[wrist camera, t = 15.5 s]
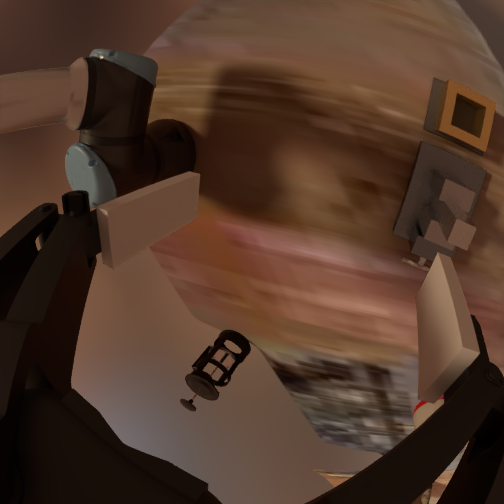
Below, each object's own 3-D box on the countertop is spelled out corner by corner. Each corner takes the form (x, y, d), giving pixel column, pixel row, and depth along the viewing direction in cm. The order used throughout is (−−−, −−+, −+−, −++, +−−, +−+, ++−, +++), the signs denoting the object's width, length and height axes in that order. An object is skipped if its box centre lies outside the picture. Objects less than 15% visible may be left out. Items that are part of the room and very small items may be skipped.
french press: (247, 331, 69) (197, 399, 51) (257, 358, 73) (213, 424, 54) (209, 327, 75) (158, 386, 57) (220, 353, 78) (175, 411, 60)
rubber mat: (423, 128, 35) (423, 128, 35) (433, 78, 31) (434, 77, 30) (481, 155, 32) (482, 155, 32) (492, 105, 28) (493, 105, 27)
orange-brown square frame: (433, 129, 34) (439, 130, 30) (442, 83, 30) (449, 79, 26) (475, 148, 32) (485, 152, 28) (485, 104, 28) (496, 102, 24)
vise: (386, 244, 46) (384, 294, 33) (420, 140, 36) (440, 148, 23) (443, 267, 43) (458, 322, 30) (482, 168, 33) (523, 192, 20)
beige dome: (445, 387, 52) (444, 437, 39) (469, 406, 50) (470, 452, 38) (404, 410, 60) (397, 457, 47) (430, 427, 58) (426, 470, 46)
